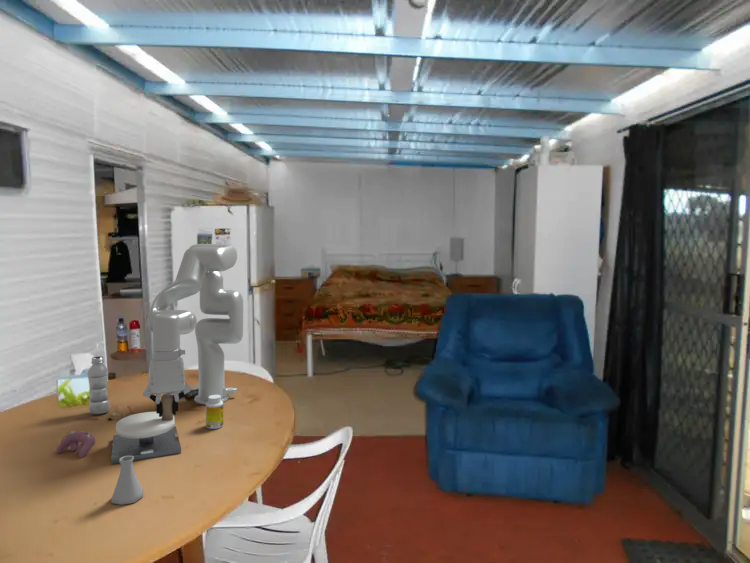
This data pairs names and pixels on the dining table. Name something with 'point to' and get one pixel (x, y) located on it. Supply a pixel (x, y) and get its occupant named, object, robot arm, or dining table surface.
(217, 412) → the supplement bottle
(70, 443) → the video game controller
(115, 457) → the mount
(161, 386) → the robot arm
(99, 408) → the plastic bottle
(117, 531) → the dining table surface
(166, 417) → the white piece
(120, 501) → the flask
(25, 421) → the dining table surface
